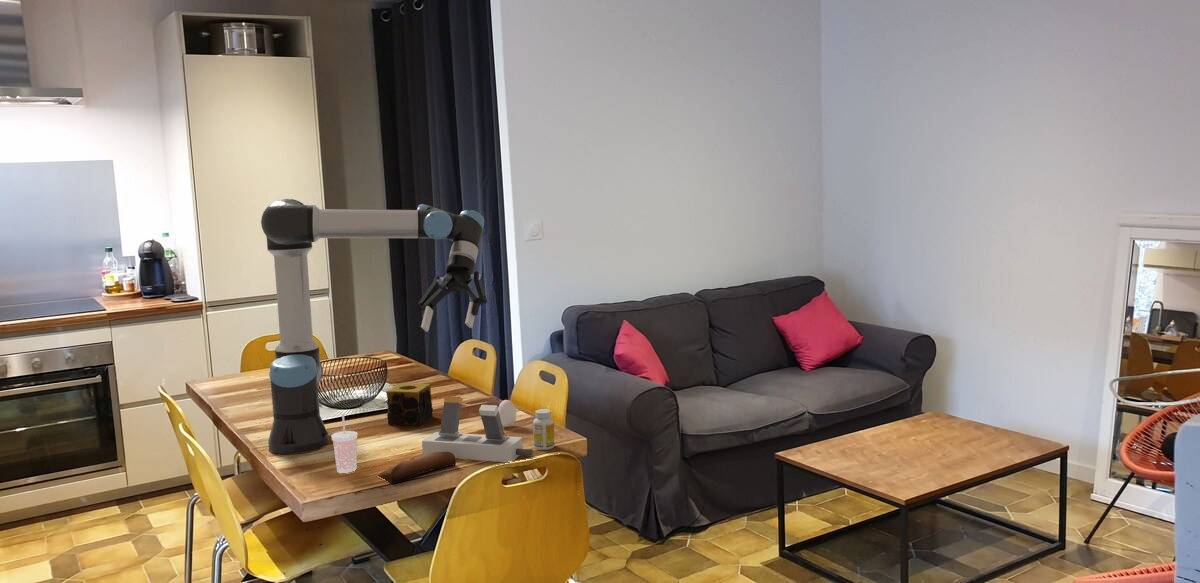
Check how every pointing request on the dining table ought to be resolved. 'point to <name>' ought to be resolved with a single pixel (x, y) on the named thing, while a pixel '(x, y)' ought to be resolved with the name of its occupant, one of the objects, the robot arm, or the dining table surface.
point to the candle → (409, 404)
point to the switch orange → (450, 416)
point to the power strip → (476, 447)
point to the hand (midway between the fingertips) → (446, 327)
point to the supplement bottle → (543, 430)
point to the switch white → (492, 422)
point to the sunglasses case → (418, 466)
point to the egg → (507, 413)
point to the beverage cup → (345, 449)
